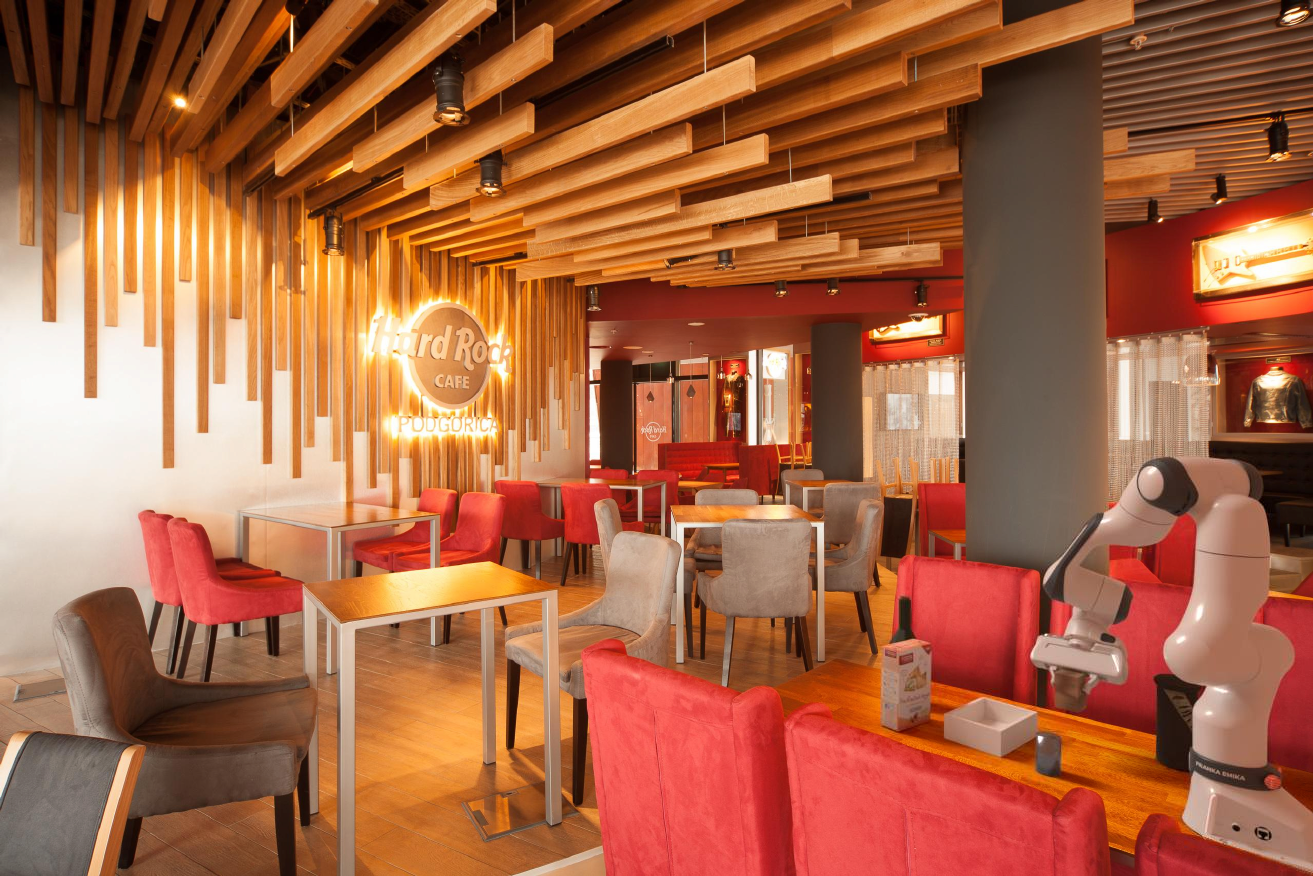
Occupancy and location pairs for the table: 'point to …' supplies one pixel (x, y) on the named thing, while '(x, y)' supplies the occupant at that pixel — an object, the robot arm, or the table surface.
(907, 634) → the wine bottle
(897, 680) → the cracker box
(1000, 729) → the box
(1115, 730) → the table surface
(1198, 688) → the container
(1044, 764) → the charcoal tin
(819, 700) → the table surface
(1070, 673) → the walnut block
